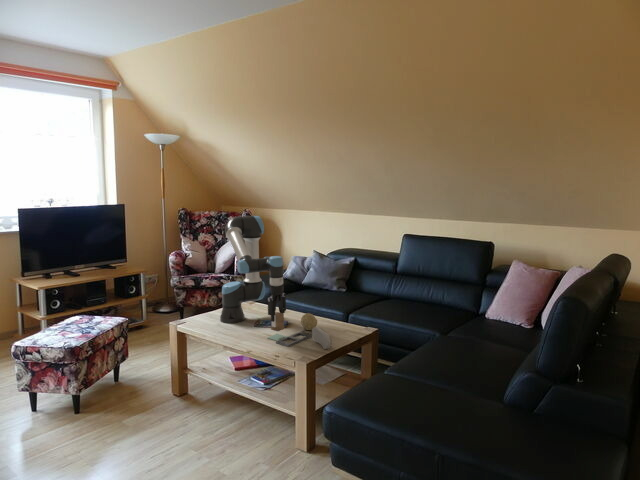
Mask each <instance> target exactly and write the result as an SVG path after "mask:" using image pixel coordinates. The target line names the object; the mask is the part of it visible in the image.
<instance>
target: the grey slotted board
mask: <svg viewBox="0 0 640 480" xmlns="http://www.w3.org/2000/svg"><path fill="white" fill-rule="evenodd" d="M297 336H302V337H297ZM311 337H312V332H307V331H303V330H301V331H298V332H295V333H292V334H291V335H288V337H286V338H283V339H281V340H279V341H275V344H277V345H280V346H283V347H284V346H285V347H286V348H289V347H292V346H293V345H297V344H299V343H300V342H304V341H306V340H307V339H309V338H311ZM312 338H313V337H312ZM287 340H290V341H291V342H288V341H287Z"/></svg>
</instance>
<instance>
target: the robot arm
mask: <svg viewBox="0 0 640 480" xmlns="http://www.w3.org/2000/svg"><path fill="white" fill-rule="evenodd" d="M224 233H225V236H226V238H227V239H228V240H229V242H230V244H231V245H232V246H231V247H232V248H233V250H234V254H235V255H236V258H237V260H238V261H237V262H236V269H237V272H238V273H239V274H245V278H244V279H243V283H242V282H240V281H237V280H236V281H229V282H225V284H224V283H223V285H222V287H221V295H222V296H221V297H222V301H221V302H222V309H221V313H220V316H219V321H220V322H221V323H227V324H233V323H234V324H235V323H239V322H240V323H241V322H243V321H245V317H246V315H245V314H244V311H243V306H242V303H247V302H257V301H260V300H263V298H265V293H266V285H265V282H264V281H262V278H261V277H260V273H262V272H263V273H264V272H268V273H269V292H270V296H269V297H266V300H267V316H270V322H271V321H272V327H276V316H275V312H277V311H276V310H277V306H278V310H279V313H284V314H285V313H286V311H287V301H286V299H287V293H285V292H284V289H285V287H284V258H283V256H279V255H273V256H264V257H261V258H260V249H259V248H260V246H259V245H260V243H259V242H260V239H261V238H262V235H263V234H264V233H265V226H264V221H263V219H262V217H260V216H259V215H245V216H235V217H232V218H230V219H229V220H228V222H227V223H226V224H225V228H224Z"/></svg>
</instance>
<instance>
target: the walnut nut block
mask: <svg viewBox="0 0 640 480" xmlns="http://www.w3.org/2000/svg"><path fill="white" fill-rule="evenodd" d="M284 315H285V313H279V312H278V311H275V316H276V327H272V321H271V320H270V330H271V331H275V332H281V331H284V330H285V322H284V321H285V317H284Z"/></svg>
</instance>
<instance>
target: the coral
mask: <svg viewBox="0 0 640 480" xmlns="http://www.w3.org/2000/svg"><path fill="white" fill-rule="evenodd" d="M300 323H301V326H303V328H304V329H305V331H312V329H313V328H314V327H318V326H317V325H318V319H317V318H316V316H315V315H314V314H312V313H310V312H307V313H305V314H303V315H302V317H301V318H300Z"/></svg>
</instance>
